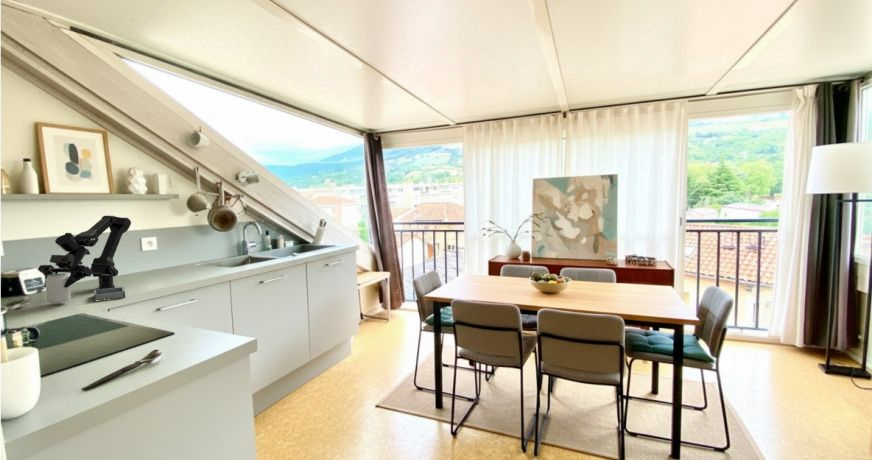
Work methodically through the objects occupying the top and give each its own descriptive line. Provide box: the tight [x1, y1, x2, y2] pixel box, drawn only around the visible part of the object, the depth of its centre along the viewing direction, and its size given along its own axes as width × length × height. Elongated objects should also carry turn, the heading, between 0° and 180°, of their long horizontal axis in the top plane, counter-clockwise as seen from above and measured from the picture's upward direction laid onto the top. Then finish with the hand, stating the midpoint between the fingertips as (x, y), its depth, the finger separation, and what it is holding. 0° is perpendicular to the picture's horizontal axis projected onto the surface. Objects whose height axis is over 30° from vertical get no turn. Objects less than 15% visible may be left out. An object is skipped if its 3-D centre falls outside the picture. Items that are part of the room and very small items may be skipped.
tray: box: [93, 286, 126, 301], centre depth 180 cm, size 11×11×3 cm
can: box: [44, 272, 72, 304], centre depth 167 cm, size 8×8×12 cm
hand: (55, 287), depth 166 cm, fingers closed on can, 7 cm apart
